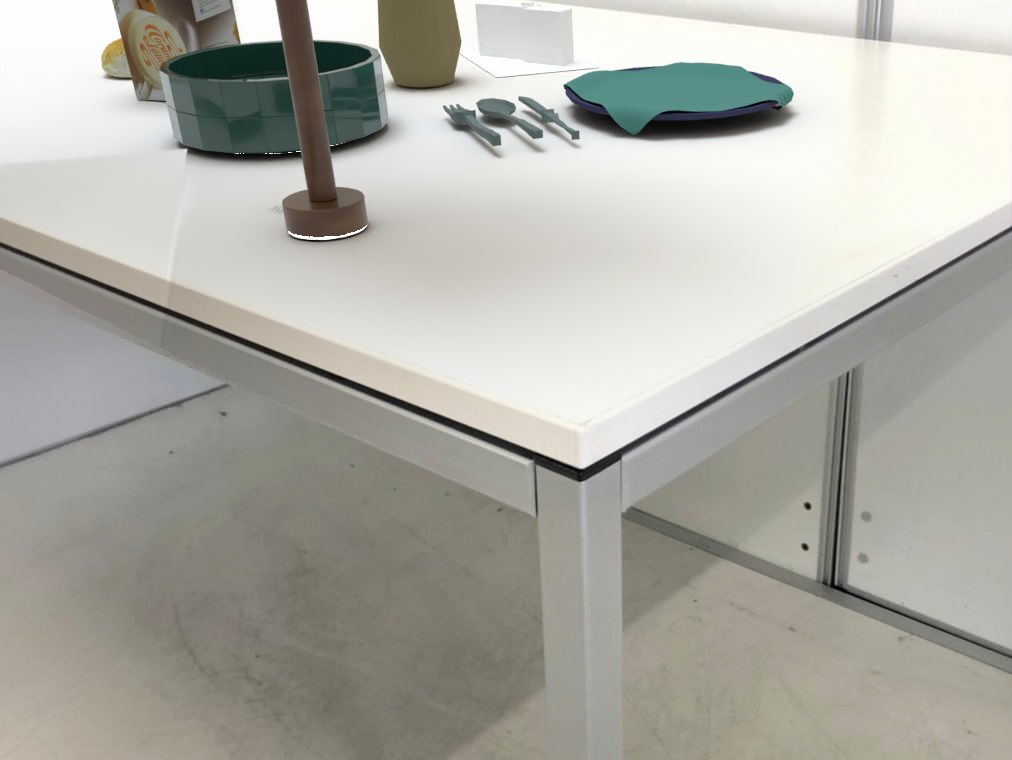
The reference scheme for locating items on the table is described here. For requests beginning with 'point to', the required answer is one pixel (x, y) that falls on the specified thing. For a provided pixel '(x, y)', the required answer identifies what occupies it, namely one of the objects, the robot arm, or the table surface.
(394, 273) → the table surface
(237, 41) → the coffee box
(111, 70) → the bread roll
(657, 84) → the cutlery set
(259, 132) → the bowl
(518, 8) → the napkin holder
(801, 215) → the table surface
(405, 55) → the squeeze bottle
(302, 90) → the brown pole stand
